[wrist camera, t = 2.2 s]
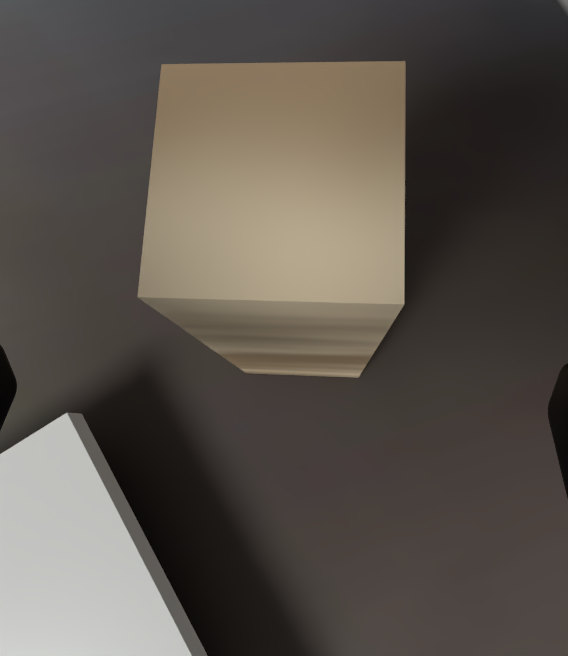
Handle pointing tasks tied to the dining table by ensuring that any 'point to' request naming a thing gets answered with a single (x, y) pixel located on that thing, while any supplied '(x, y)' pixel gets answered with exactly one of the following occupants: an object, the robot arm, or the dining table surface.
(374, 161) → the beech post
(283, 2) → the dining table surface
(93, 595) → the white square board
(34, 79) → the dining table surface
